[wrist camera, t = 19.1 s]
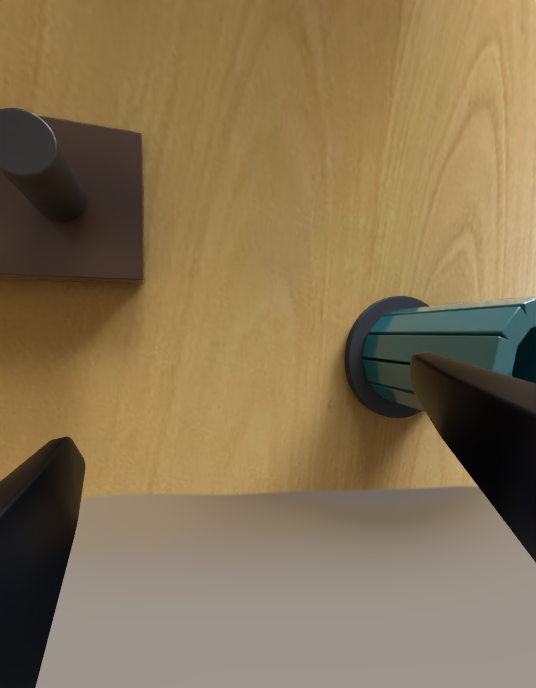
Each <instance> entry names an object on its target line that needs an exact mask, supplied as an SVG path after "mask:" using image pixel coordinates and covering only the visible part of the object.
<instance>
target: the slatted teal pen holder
mask: <svg viewBox="0 0 536 688" xmlns="http://www.w3.org/2000/svg"><path fill="white" fill-rule="evenodd" d="M369 333H370V334H371V335H367V338H366V342H365V347H364V351H363V355H362V356H363V357H365V358H366V359H363V360H362V361H363V365H364V369H365V373H366V378H367V381H370V383H369V385H370V386H371V387H372V388H373V389H374V390H375V391H376V392H377V393H378V394H379V396H380V397H381V398H383V399H385V400H387V401H391V402H394V403H397V404H401V405H404V406H407V407H411V408H414V409H418V410H421V411H424V412H426V411H425V410H424V408H423V406H422V405H421V403H420V401H419V400H418V398H417V396H416V395H415V393H414V391H413V389H412V387H411V384H410V365H411V358H412V356H413V355H415V354H419V353H423V352H430V353H434V354H437V355H441V356H444V357H447V358H451V359H454V360H457V361H461V362H464V363H468V364H471V365H474V366H478V367H481V368H484V369H488V370H491V371H495V372H498V373H501V374H505V375H508V376H511V377H515V378H518V379H522V380H525V381H528V382H532V383H535V384H536V296H531V297H521V298H510V299H500V300H490V301H479V302H469V303H459V304H448V305H438V306H428V307H417V308H407V309H400V310H397V311H394V312H391V313H387V314H385V315H384V316H382V317H381V318H380V319H379V320H378V322H377V323H376V324H375V325H374V326H373V327H372V329H371V330H370V331H369Z"/></svg>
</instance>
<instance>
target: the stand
mask: <svg viewBox="0 0 536 688" xmlns="http://www.w3.org/2000/svg"><path fill="white" fill-rule="evenodd" d="M0 278H13V279H38V280H63V281H89V282H114V283H139V284H144V283H145V262H144V183H143V140H142V133H141V132H136V131H130V130H123V129H117V128H111V127H105V126H99V125H93V124H87V123H81V122H75V121H68V120H62V119H56V118H50V117H44V116H38V115H35V114H33V113H31V112H29V111H26V110H22V109H17V108H6V109H0Z"/></svg>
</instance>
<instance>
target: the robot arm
mask: <svg viewBox="0 0 536 688" xmlns="http://www.w3.org/2000/svg"><path fill="white" fill-rule="evenodd" d="M410 384H411V387H412V389H413V391H414V393H415V395H416V396H417V398H418V400H419V401H420V403H421V405H422V406H423V408H424V410H425V411H426V413H427V415H428V416H429V418H430V420H431V421H432V423H433V425H434V427H435V428H436V430H437V431H438V433H439V434H440V436H441V437H442V439H443V440H444V441H445V443H446V444H447V445H448V447H449V448H450V449H451V451H452V452H453V453H454V455H455V456H456V457H457V459H458V460H459V461H460V463H461V464H462V465H463V467H464V468H465V469H466V471H467V472H468V473H469V475H470V476H471V477H472V479H473V480H474V481H475V483H476V484H477V485H478V486H479V488H480V489H481V490H482V492H483V493H484V494H485V496H486V497H487V498H488V500H489V501H490V502H491V504H492V505H493V506H494V508H495V509H496V510H497V511H498V513H499V514H500V516H501V517H502V518H503V520H504V521H505V522H506V524H507V525H508V526H509V528H510V529H511V530H512V532H513V533H514V534H515V535H516V537H517V538H518V539H519V541H520V542H521V543H522V545H523V546H524V547H525V549H526V550H527V551H528V553H529V554H530V555H531V557H532V558H533V559H534V561H535V562H536V384H535V383H532V382H528V381H525V380H522V379H518V378H515V377H511V376H508V375H505V374H501V373H498V372H495V371H491V370H488V369H484V368H481V367H478V366H474V365H471V364H468V363H464V362H461V361H457V360H454V359H451V358H447V357H444V356H441V355H437V354H434V353H430V352H423V353H419V354H415V355H413V356H412V358H411V365H410ZM84 474H85V461H84V458H83V457H82V455H81V453H80V452H79V450H78V448H77V447H76V445H75V443H74V441H73V440H72V439H71V438H70V437H62V438H58V439H54V440H51V441H49V442H48V443H47V444H45V445H44V446H43V447H42V448H41V449H39V450H38V451H37V452H36V453H35V454H33V455H32V456H31V457H30V458H28V459H27V460H26V461H25V462H24V463H22V464H21V465H20V466H19V467H18V468H16V469H15V470H14V471H13V472H11V473H10V474H9V475H8V476H7V477H5V478H4V479H3V480H2V481H0V688H35V687H36V683H37V679H38V675H39V671H40V667H41V663H42V660H43V656H44V652H45V648H46V644H47V640H48V636H49V632H50V628H51V625H52V621H53V617H54V613H55V609H56V605H57V601H58V598H59V593H60V589H61V586H62V582H63V578H64V574H65V570H66V567H67V563H68V559H69V555H70V551H71V547H72V543H73V539H74V535H75V531H76V527H77V521H78V515H79V508H80V502H81V495H82V488H83V481H84Z"/></svg>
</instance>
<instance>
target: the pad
mask: <svg viewBox="0 0 536 688" xmlns="http://www.w3.org/2000/svg"><path fill="white" fill-rule="evenodd" d="M417 307H428V305H427V304H426V303H424V302H422V301H420V300H418V299H415V298H412V297H407V296H396V297H389V298H385V299H382V300H380V301H377V302H376V303H374V304H372V305H371V306H369V307H368V308H367V309H366V310H365V311H364V312H363V313H362V314H361V315H360V316H359V318H358V319H357V320H356V322H355V323H354V325H353V327H352V329H351V331H350V334H349V337H348V340H347V344H346V351H345V366H346V373H347V377H348V380H349V383H350V386H351V388H352V390H353V391H354V393H355V395H356V396H357V397H358V399H359V400H360V401H361V402H362V403H363V404H364V405H365V406H366V407H367V408H369V409H370V410H372V411H374V412H376V413H378V414H381V415H383V416H387V417H391V418H404V417H409V416H412V415H415V414H417V413H419V412H421V410H418V409H414V408H411V407H407V406H404V405H401V404H397V403H394V402H391V401H387V400H385V399H383V398H381V397H380V396H379V394H378V393H377V392H376V391H375V390H374V389H373V388H372V387H371V386H370V385H369V383H370V381H367V378H366V373H365V369H364V365H363V361H362V360H363V359H366V358H365V357H363V356H362V355H363V351H364V347H365V342H366V338H367V335H371V334H370V333H369V331H370V330H371V329H372V327H373V326H374V325H375V324H376V323H377V322H378V320H379V319H380V318H381V317H382V316H384V315H385V314H387V313H391V312H394V311H397V310H400V309H407V308H417Z"/></svg>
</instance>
